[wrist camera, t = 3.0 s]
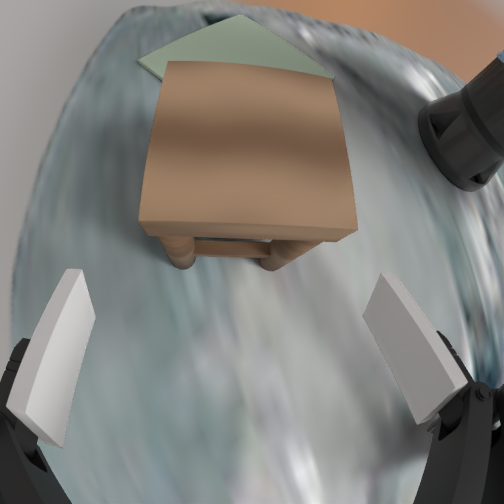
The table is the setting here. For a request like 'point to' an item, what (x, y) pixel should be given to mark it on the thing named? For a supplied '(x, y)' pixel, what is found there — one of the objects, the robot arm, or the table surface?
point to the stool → (246, 164)
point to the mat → (233, 49)
